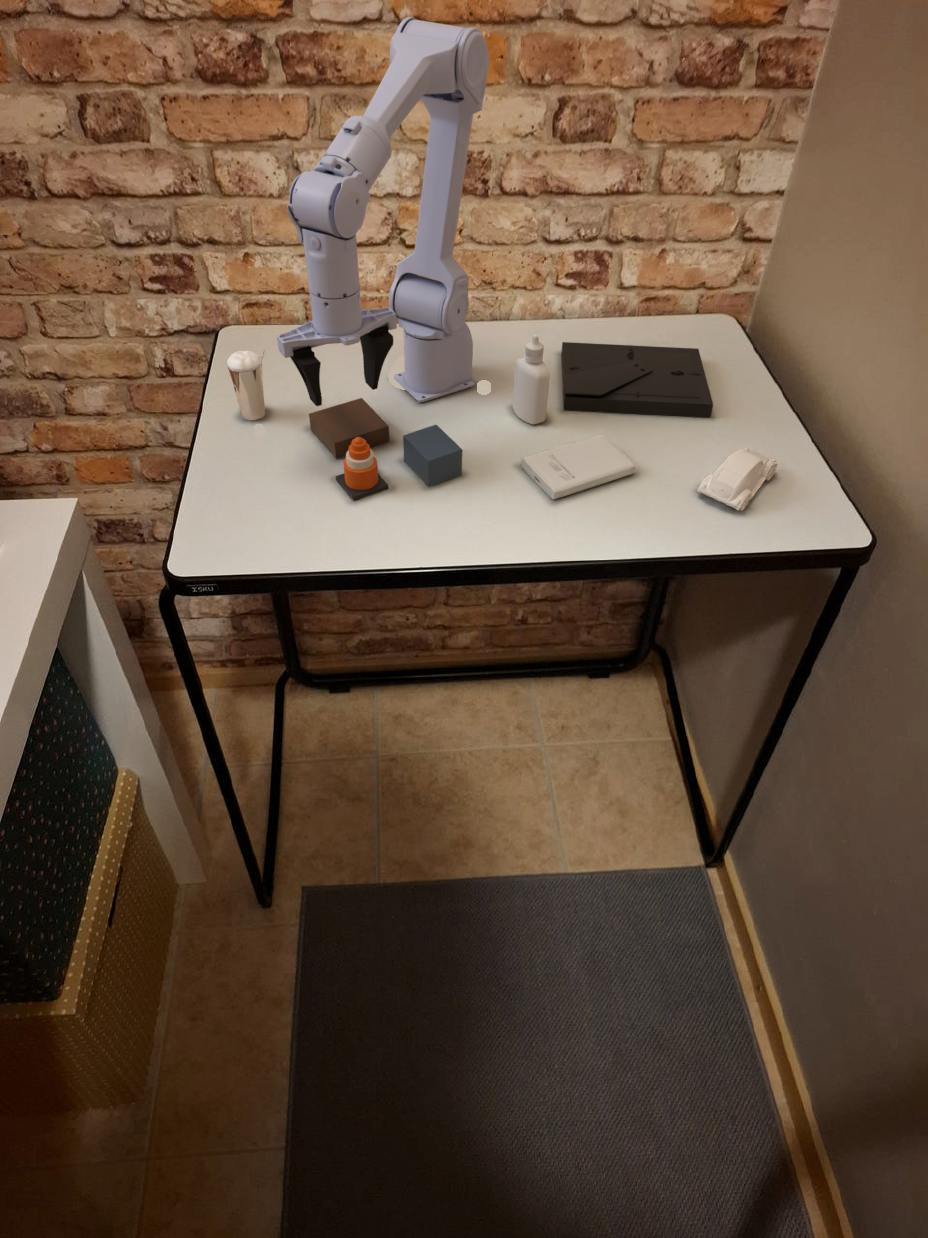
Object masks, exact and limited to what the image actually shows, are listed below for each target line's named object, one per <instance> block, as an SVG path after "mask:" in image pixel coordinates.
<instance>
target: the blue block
mask: <svg viewBox="0 0 928 1238" xmlns="http://www.w3.org/2000/svg"><path fill="white" fill-rule="evenodd" d="M402 440H403V442H402V443H403V444H402V445H403V446H402V447H403V462H405V464H406V465H407V466H408V467H409V468H410V469H411V470H412V471H413V472H414V473H415V474H416V475H417V476H418V478H419V479H421V481H422V482H423V483H424V484H425V485H426V486H427V487H428V488H429V487H432V486H434V485H438V484H440V483H443V482H446V481H449V480H451V479H454V478H457V477H460V476H462V475H463V449H462V447H460V446H459V444H457V443H456V442H455V441H454V439H452V437H450V436H449V435H448V434H447V433H446V432H445V431H444V430H443V429H442V428H441V427H440V426H438V424H434V425H430V426H428V427H424V428H421V429H418V430H415V431H411V432H409V433H406V434H403V435H402Z"/></svg>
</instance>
